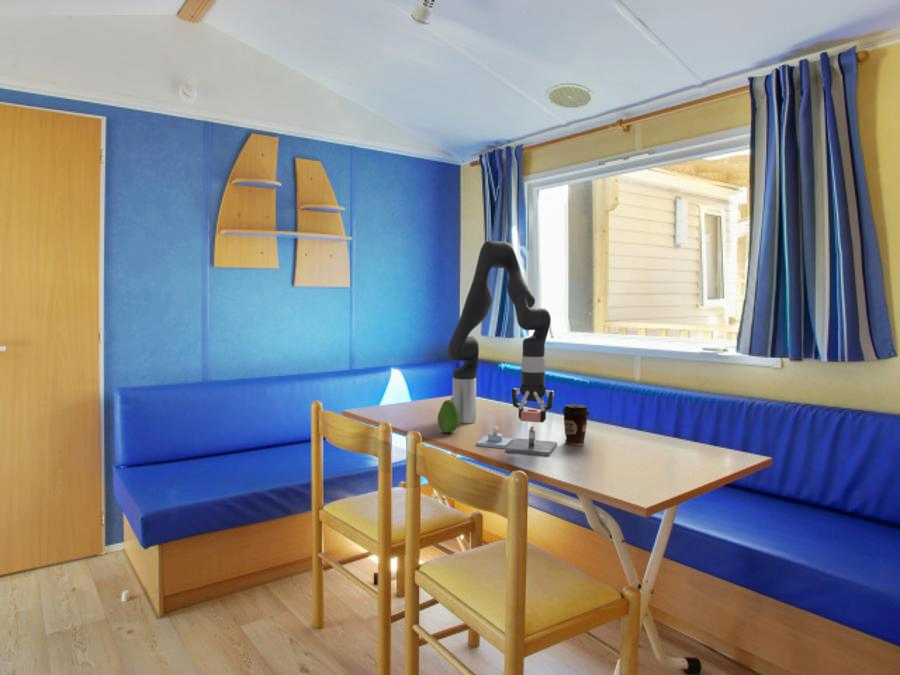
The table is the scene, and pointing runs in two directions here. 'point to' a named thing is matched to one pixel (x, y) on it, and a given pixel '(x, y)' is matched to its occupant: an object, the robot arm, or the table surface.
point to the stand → (494, 440)
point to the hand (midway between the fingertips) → (532, 421)
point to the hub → (531, 445)
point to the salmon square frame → (531, 415)
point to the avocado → (448, 417)
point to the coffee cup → (575, 423)
